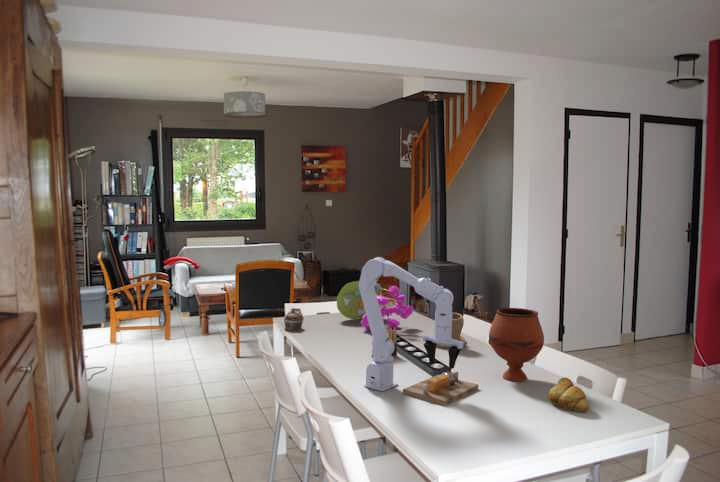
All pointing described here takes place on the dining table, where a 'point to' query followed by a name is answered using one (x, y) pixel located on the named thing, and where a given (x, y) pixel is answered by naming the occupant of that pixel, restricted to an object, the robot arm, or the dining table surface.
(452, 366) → the robot arm
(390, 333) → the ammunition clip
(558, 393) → the bread roll
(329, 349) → the dining table surface
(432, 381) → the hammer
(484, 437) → the dining table surface
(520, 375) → the goblet
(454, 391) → the walnut board
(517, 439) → the dining table surface
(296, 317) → the cupcake
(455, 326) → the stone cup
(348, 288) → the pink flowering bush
